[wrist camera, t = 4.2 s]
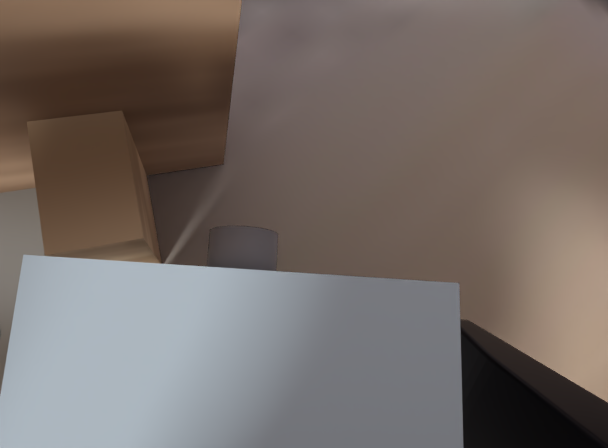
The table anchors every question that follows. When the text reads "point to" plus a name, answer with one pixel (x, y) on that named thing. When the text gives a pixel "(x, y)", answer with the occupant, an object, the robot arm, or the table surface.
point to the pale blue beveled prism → (229, 355)
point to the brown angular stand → (103, 122)
